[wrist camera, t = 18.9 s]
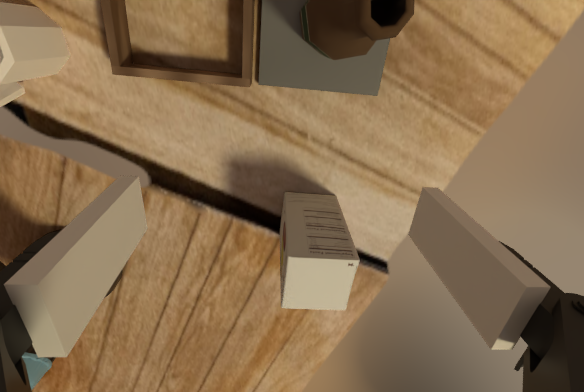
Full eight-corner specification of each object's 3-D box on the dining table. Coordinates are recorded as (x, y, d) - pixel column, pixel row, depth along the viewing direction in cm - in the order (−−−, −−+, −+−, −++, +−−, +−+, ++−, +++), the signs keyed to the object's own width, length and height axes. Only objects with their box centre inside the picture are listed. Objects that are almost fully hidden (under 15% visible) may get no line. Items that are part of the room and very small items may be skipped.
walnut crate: (126, 70, 41) (112, 74, 38) (102, -94, 34) (82, -110, 30) (251, 82, 43) (249, 87, 39) (256, -73, 35) (254, -85, 31)
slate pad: (258, 83, 43) (258, 84, 42) (265, -72, 35) (265, -74, 34) (375, 94, 44) (377, 95, 44) (406, -52, 37) (410, -54, 36)
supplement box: (283, 190, 51) (286, 254, 36) (337, 194, 52) (361, 258, 37) (278, 236, 56) (279, 310, 41) (328, 239, 56) (346, 312, 42)
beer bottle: (340, -30, 36) (430, -120, 15) (367, 32, 40) (472, 30, 19) (285, 9, 38) (297, -22, 17) (316, 66, 41) (357, 100, 20)
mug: (-1, -12, 37) (-87, -26, 28) (75, 25, 39) (18, 22, 30) (-7, 82, 41) (-81, 95, 33) (62, 111, 44) (8, 130, 35)
